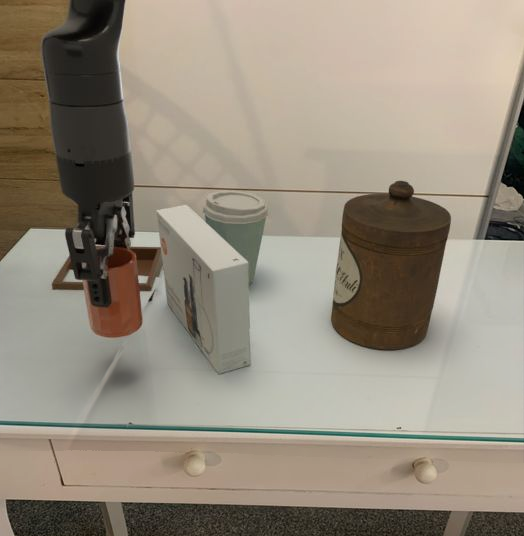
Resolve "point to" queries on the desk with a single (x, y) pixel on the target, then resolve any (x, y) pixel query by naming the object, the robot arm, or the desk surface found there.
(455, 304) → the desk surface
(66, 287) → the tray
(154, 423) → the desk surface
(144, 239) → the desk surface
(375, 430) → the desk surface
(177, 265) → the skincare box
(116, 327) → the cup
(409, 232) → the wooden container
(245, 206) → the disposable coffee cup
